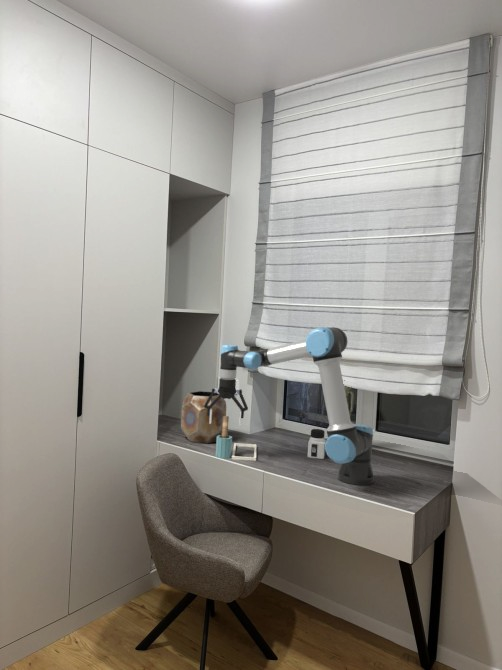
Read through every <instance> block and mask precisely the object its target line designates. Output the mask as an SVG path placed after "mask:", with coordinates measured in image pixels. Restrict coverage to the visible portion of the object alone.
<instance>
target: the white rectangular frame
mask: <svg viewBox="0 0 502 670" xmlns="http://www.w3.org/2000/svg"><path fill="white" fill-rule="evenodd" d="M237 447H243V448H244V447H247V448H253V449H254V450H253V451H254V452H253V457H251V456H237V455H235V454H236V449H237ZM231 460H239V461H255V462H256V461H257V444H256V443H255V444H254V443H236V442H234V443H233V447H232V452H231Z"/></svg>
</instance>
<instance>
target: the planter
mask: <svg viewBox="0 0 502 670" xmlns="http://www.w3.org/2000/svg"><path fill="white" fill-rule="evenodd" d="M211 393H212V391H201V390H200V391H192V392H191V391H190V392H188V393H187V394H186V395H185V396H184V398H183V401H182V406H181V417H180V418H181V419H180V428H181V430H182V432H183V434H184V437H187V438H186V439H187V440H189V441H190V442H192V443H201V444H210V443H215V442H216V440H217V436H218V435H222V425H223V416H227V401H226V400H225V399H223V398H222V397H221V398H220V399H219V400H218V401H217V402H216V403H215V404H214V405H213V406H212V407H211V409H212V421H211V424H209V419H210V416H208V415H207V412H208V409H207V408H204V405H205V403H206V401H207V400H208V398H209V396H210V395H211ZM219 395H220V394H219V393H218V392H216V393H214V395H213V396H212V398H211V400H210V402H209V403H208V406H209V405H210V404H211V403H212V402H213V401H214V400H215V399H216V398H217V397H218V396H219Z"/></svg>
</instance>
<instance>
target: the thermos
mask: <svg viewBox="0 0 502 670" xmlns="http://www.w3.org/2000/svg"><path fill="white" fill-rule="evenodd" d="M344 389H345V394H346V399H347V405H348V410H349V415H350V417H351V416H352V413H353V412H354V406H355V404H354V402H355V393H354V391H353V390H352V387H351V388H348V387H345V386H344Z"/></svg>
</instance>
